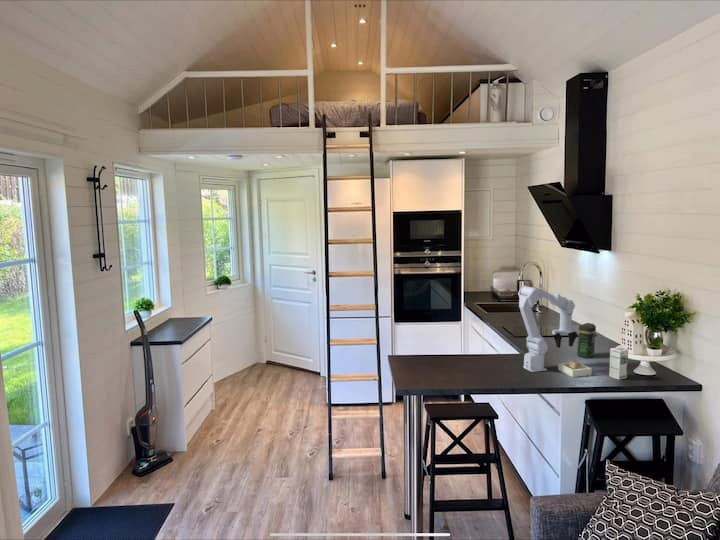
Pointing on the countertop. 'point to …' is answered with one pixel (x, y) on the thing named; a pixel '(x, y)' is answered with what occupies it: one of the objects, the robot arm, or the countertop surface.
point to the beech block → (574, 365)
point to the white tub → (574, 373)
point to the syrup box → (618, 363)
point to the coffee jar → (586, 340)
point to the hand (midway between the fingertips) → (564, 346)
